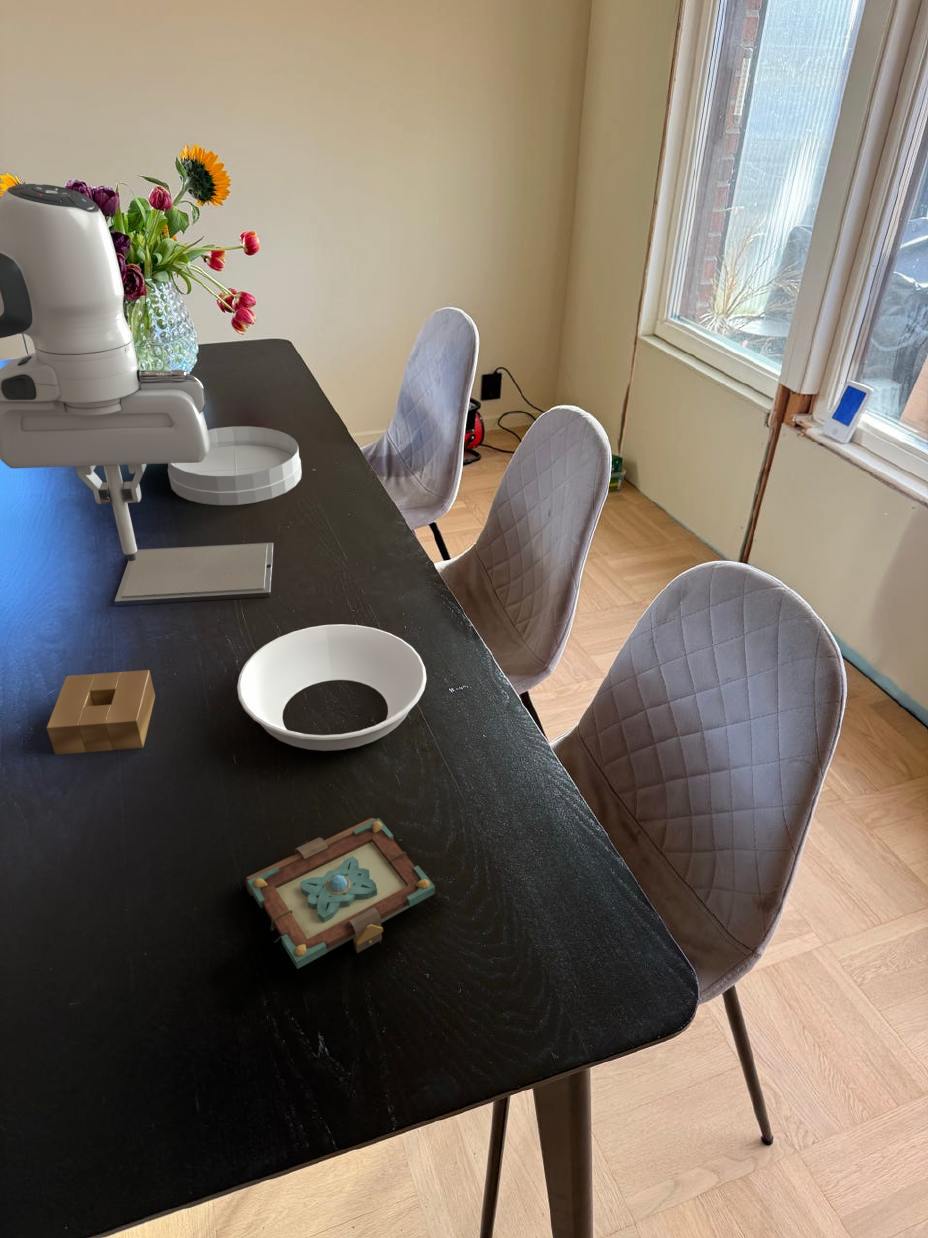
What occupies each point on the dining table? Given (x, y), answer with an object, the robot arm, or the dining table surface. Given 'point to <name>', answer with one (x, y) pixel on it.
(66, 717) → the holder
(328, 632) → the white flared ring
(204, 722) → the dining table surface
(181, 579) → the tablet
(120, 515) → the stylus
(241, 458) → the dish
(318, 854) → the decorative book
